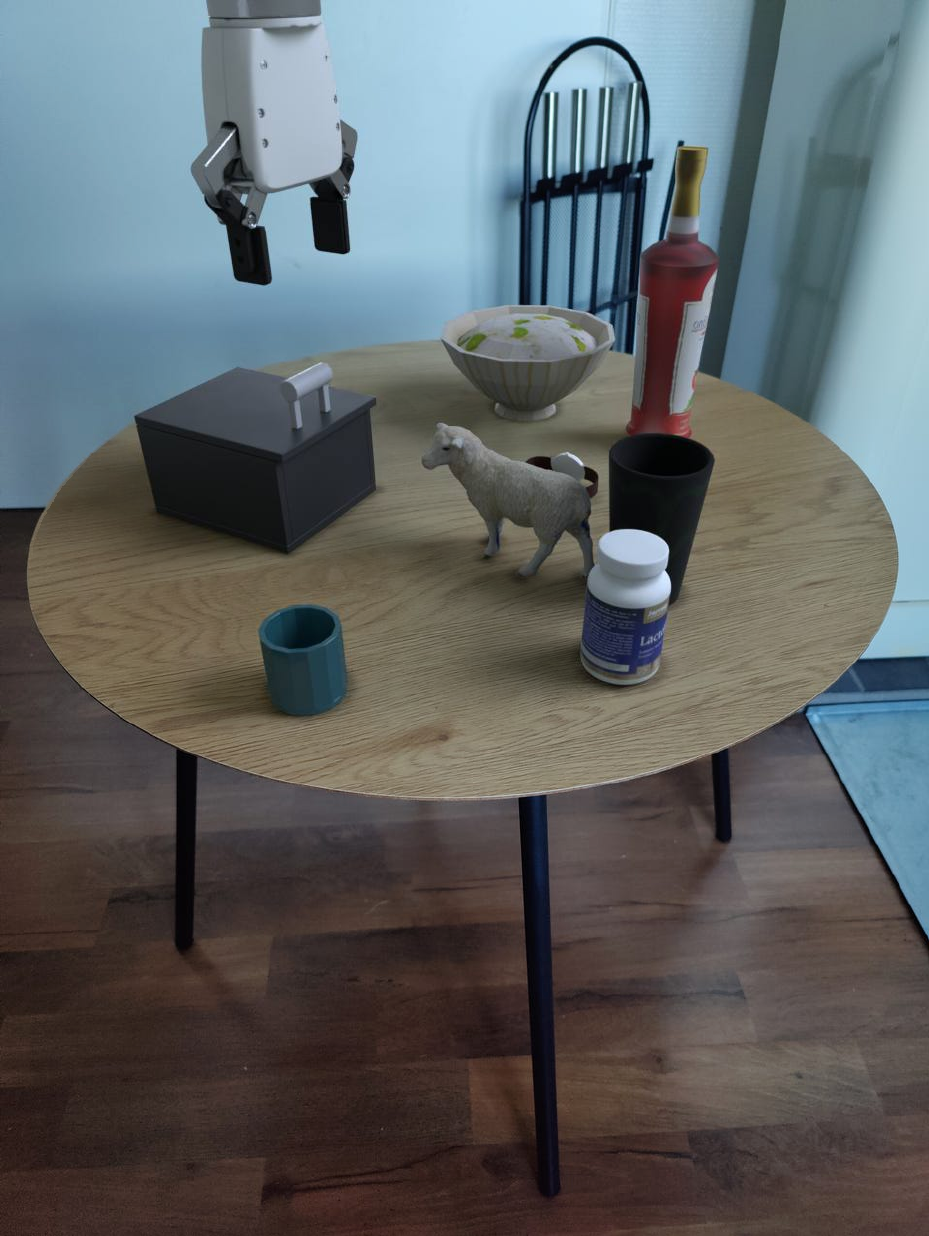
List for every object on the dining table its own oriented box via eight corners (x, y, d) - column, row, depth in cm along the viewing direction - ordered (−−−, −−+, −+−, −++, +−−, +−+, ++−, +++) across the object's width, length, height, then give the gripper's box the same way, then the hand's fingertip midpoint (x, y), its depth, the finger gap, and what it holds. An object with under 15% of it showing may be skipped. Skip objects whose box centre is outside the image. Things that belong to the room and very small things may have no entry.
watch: (606, 491, 87) (609, 456, 85) (584, 511, 84) (587, 476, 82) (536, 472, 91) (537, 438, 89) (512, 491, 88) (513, 456, 86)
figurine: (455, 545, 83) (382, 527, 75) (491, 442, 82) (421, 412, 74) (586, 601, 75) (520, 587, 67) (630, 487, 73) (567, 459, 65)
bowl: (407, 406, 105) (402, 319, 99) (527, 365, 115) (529, 284, 109) (523, 461, 93) (525, 366, 87) (645, 410, 103) (655, 322, 97)
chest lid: (377, 405, 83) (373, 350, 80) (282, 463, 73) (274, 404, 70) (238, 374, 89) (230, 323, 86) (135, 424, 80) (122, 368, 77)
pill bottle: (651, 695, 63) (668, 575, 57) (571, 678, 65) (580, 559, 59) (665, 648, 67) (683, 531, 61) (590, 632, 69) (600, 517, 63)
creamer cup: (275, 723, 61) (264, 659, 58) (265, 674, 65) (254, 612, 62) (354, 707, 62) (347, 643, 59) (339, 659, 67) (332, 597, 63)
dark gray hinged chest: (376, 489, 88) (369, 403, 83) (288, 554, 79) (274, 461, 73) (251, 456, 95) (238, 374, 89) (156, 512, 85) (135, 424, 80)
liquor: (633, 423, 100) (663, 139, 84) (699, 434, 98) (743, 144, 81) (613, 449, 95) (640, 151, 79) (682, 462, 92) (725, 156, 76)
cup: (650, 629, 69) (669, 488, 62) (577, 588, 74) (587, 453, 67) (712, 591, 73) (736, 455, 66) (638, 554, 78) (653, 423, 71)
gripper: (300, -5, 68) (323, 236, 78) (124, 4, 56) (179, 288, 66) (383, -5, 65) (396, 246, 75) (216, 5, 53) (259, 303, 63)
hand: (295, 266), depth 70 cm, fingers open, 9 cm apart
